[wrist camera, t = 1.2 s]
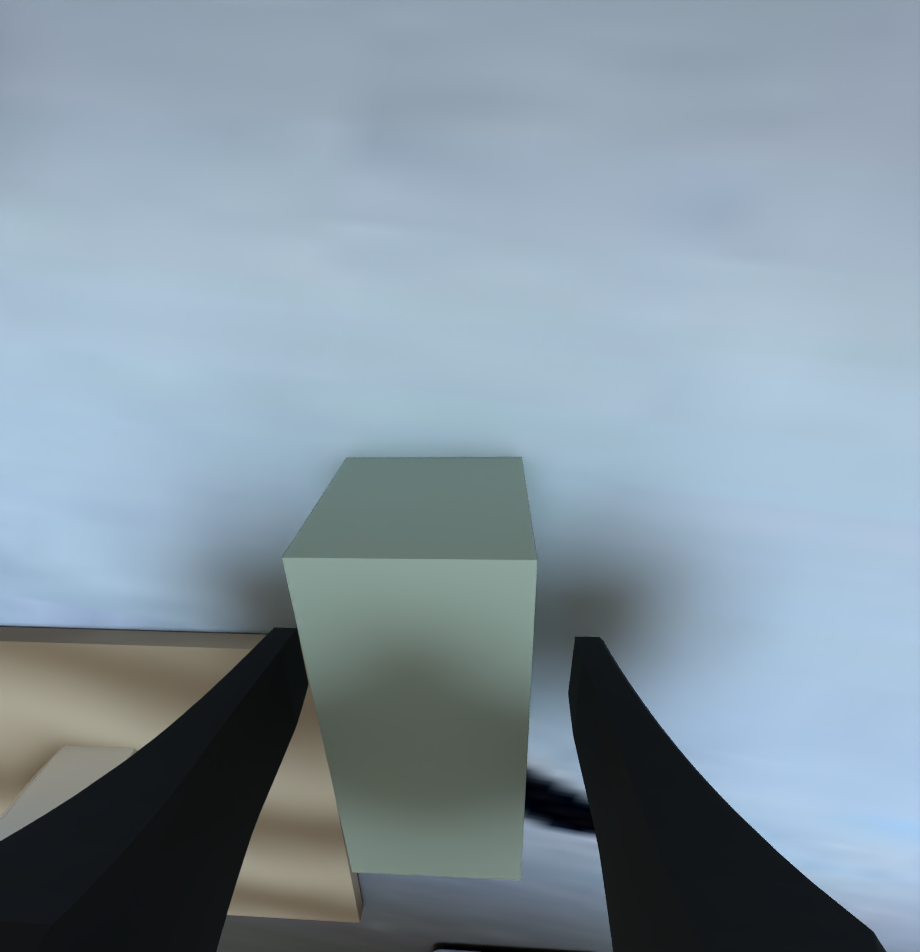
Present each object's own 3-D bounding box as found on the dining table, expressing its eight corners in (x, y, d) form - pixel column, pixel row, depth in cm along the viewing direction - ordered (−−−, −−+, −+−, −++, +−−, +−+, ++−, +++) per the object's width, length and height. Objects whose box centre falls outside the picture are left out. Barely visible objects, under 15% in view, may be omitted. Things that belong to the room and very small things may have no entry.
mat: (363, 906, 22) (359, 922, 21) (23, 885, 23) (12, 901, 22) (312, 636, 15) (306, 650, 14) (-175, 621, 16) (-198, 634, 15)
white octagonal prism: (229, 855, 20) (188, 953, 17) (76, 846, 20) (11, 942, 17) (189, 750, 17) (132, 848, 14) (11, 742, 17) (-78, 837, 14)
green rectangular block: (512, 724, 17) (521, 880, 13) (384, 720, 17) (352, 872, 13) (521, 454, 12) (537, 560, 8) (348, 454, 13) (281, 557, 8)
